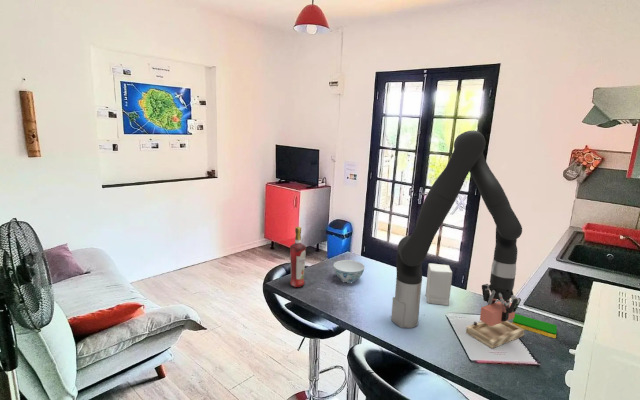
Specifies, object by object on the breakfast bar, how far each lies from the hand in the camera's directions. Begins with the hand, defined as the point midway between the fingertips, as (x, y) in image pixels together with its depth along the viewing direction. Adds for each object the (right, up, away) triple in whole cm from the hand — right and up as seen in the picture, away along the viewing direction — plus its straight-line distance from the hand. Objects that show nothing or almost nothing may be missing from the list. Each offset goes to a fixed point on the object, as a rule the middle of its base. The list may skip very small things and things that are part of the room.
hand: (497, 317), depth 122 cm
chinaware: (-50, +3, +44) cm, 66 cm away
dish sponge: (+17, -7, +6) cm, 20 cm away
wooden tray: (0, -7, +1) cm, 7 cm away
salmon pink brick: (0, -1, 0) cm, 1 cm away
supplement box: (-13, -2, +26) cm, 29 cm away
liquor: (-75, +2, +36) cm, 83 cm away
